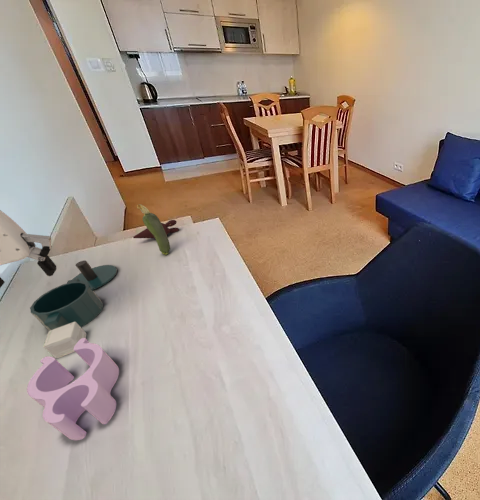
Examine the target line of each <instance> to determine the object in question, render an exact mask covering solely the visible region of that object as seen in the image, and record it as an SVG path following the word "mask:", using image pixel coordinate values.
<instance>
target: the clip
mask: <svg viewBox="0 0 480 500" xmlns="http://www.w3.org/2000/svg"><path fill="white" fill-rule="evenodd" d="M73 350H74V351H75V352H74V353H76V354H77V355H78V357H80V358H81V359H82V360H83V361H84V362H85V363H86V364H87V365H88V366H89V367H88V369H86V370H85V372H84V373H83V374H82V375H80V376H79V377H78V378H76V379H75V376H74V375H73V374H72V373H71V372H70V371H69V370H68V369H67V368H66V367H65V366H64V365H63V364H61V362H59V361H58V360H57V358H55V357H54V356H49V355H48V356H44V357H42V358H41V359H40V360H39V361H40V363H41V364H42V365H41V366H40V367H38V369H37V370H36V371H35V372H34V373H33V375H32V376H31V378H30V379H29V381H28V383H27V388H26V393H27V395H28V396H29V397H30V398H32V399H33V400H34V401H35V402H37V403H38V404H39V405H41V406H42V408H43V410H42V419H43V420H44V422H46V423H48V424H49V425H50V426H51V427H53V428H54V429H55V430H57V431H58V432H60V433H61V434H62V435H64V436H65V437H67V438H68V439H69V440H71V441H81V440H83V439H85V438H86V436H87V434H88V432H87V431H86V430H85V429H83V428H82V427H81V426H80V425H79V424H77V422H78V419H79V418H80V416H81V415H82V414H84V413H85V412H88V413H89V414H90V415H91V416H93V417H94V419H96V420H97V421H98V422H99V423H101V424H102V425H107V424H108V423H110V420H111V419H112V418H113V416H114V414H115V412H116V410H117V401H116V399H115V398H114V397H113V396H112V395H111V392H112V389H113V388H114V386H115V384H116V383H117V381H118V378H119V375H120V368H119V366H118V365H117V364H116V362H115V361H114V360H113V359H112V357H110V356H109V354H107V352H106V351H105V350H104V349H103V348H102V346H100V344H97V343H94V342H90V341H89V340H88V339H87V337H86V338H82V339H80V340H79V341H78V342H77V344H76V345H75V346H74V349H73ZM74 379H75V380H74Z"/></svg>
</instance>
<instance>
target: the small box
mask: <svg viewBox="0 0 480 500" xmlns="http://www.w3.org/2000/svg"><path fill="white" fill-rule="evenodd" d="M82 338H86V339H87V332H86V331H85V330H84V329H83V328H82V327H80V326H79V325H78V324H77V323H76V322H72V323H70V324H67V325H64V326H61V327H59V328H56V329H53V330H51V331H48V332H47V335H46V338H45V340H44V342H43V343H44V344H43V346H42V348H44V349H45V350H46V351H47V352H48V353H49V354H50V355H51V356H52V357H54V358H55V359H59V358H62V357H64V356H67V355H70V354H73V353H76V352H75V351H74V350H73V349H74V346H75V345H76V344H77V342H78V341H79V340H80V339H82Z"/></svg>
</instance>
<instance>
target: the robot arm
mask: <svg viewBox="0 0 480 500" xmlns="http://www.w3.org/2000/svg"><path fill="white" fill-rule="evenodd" d="M36 243H37V244H41V246H42V247H38V246H36ZM52 247H53V246H52V237H51V236H49V235H43V234H42V235H41V234H30V233H27V232H26V231H25V230H24V229H23V228H22V227H21V226H20V225H19V224H18V223H17V222H16V221H15V220H14V219H12V217H10V216H9V215H7V213H5V212H3V211H2V210H1V209H0V266H2V265H7V264H10V263H11V264H12V263H15V262H19V261H22V260H24V259H27V258H29V259H32V260H36V261H37V263H36V264H37V266H38V267H39V268H40V269H41V270H42V271H43V272H44V274H45V275H46V276H47V277H52V276H53V275H54V274H55V272H56V271H57V265H56V263H55V262H54V261H53V260H52V258H50V256H49V254H50V252H51V250H52ZM5 283H6V281H5V280H4V279H3V278H2V277H1V276H0V289H2V287H3V285H4V284H5Z"/></svg>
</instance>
